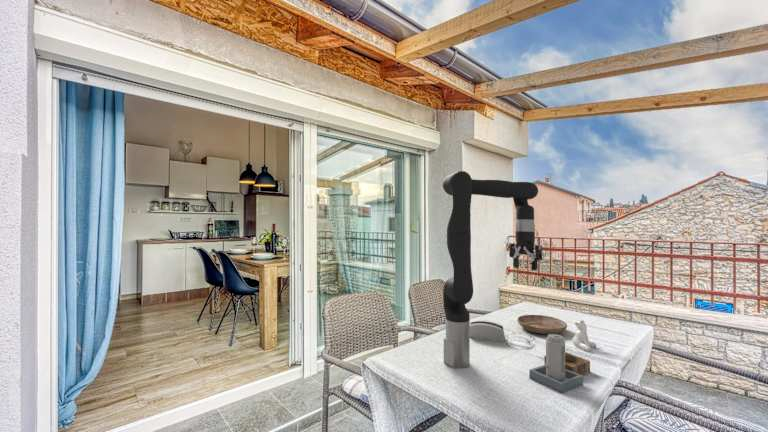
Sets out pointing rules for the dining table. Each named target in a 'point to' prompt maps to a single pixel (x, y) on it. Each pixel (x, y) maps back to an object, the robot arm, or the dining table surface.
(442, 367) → the dining table surface
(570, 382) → the tray
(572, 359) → the bore block
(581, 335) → the sitting furry creature
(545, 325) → the ceramic bowl
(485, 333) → the grey rounded slab
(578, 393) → the dining table surface
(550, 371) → the energy drink can
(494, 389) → the dining table surface
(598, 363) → the dining table surface
